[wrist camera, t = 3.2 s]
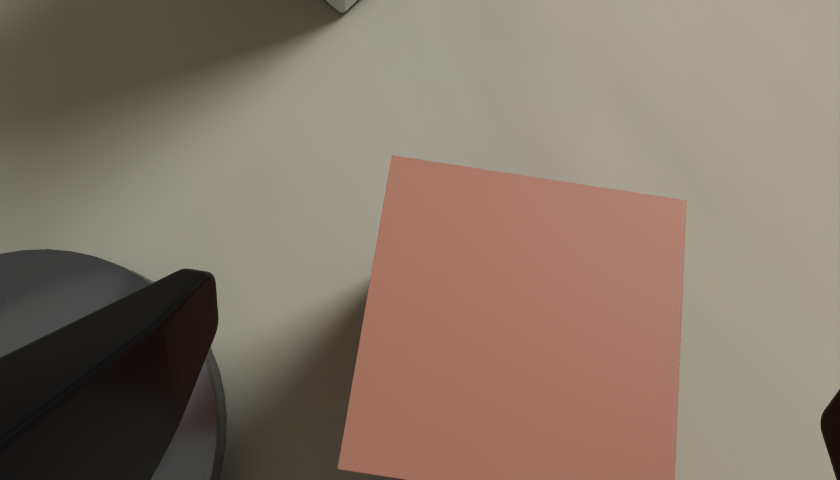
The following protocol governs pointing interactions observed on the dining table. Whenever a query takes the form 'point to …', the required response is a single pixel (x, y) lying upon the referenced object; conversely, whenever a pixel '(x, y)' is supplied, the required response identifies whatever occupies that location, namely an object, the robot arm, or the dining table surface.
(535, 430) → the upright salmon prism
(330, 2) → the supplement box
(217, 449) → the charcoal dinner plate
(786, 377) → the dining table surface
